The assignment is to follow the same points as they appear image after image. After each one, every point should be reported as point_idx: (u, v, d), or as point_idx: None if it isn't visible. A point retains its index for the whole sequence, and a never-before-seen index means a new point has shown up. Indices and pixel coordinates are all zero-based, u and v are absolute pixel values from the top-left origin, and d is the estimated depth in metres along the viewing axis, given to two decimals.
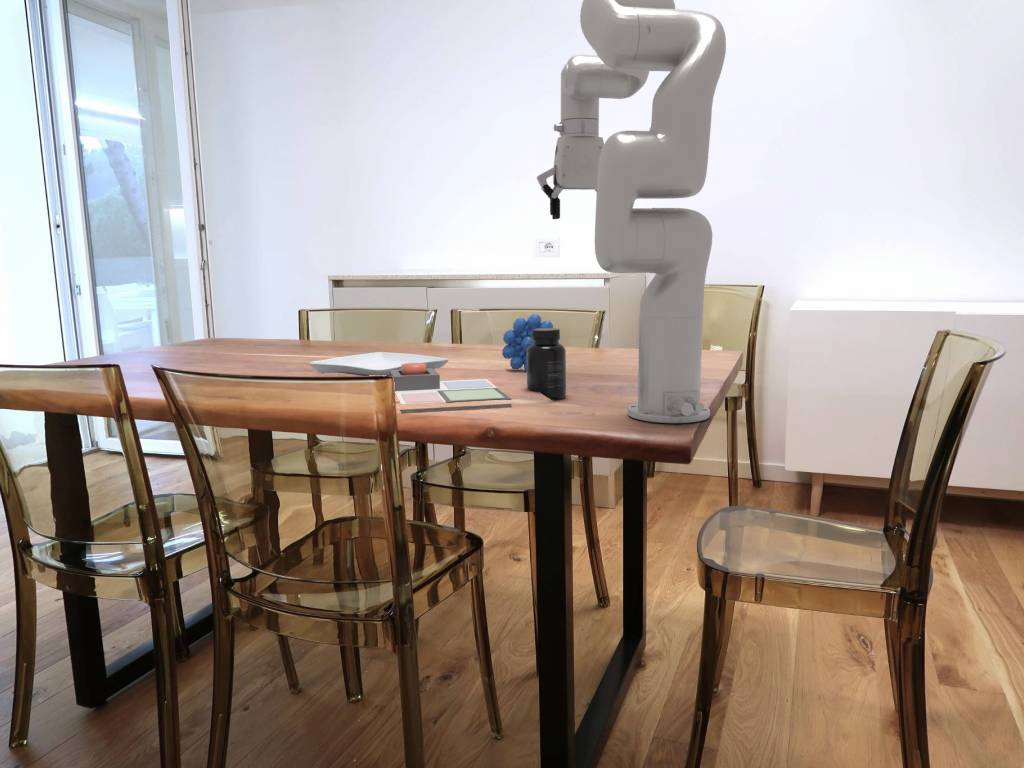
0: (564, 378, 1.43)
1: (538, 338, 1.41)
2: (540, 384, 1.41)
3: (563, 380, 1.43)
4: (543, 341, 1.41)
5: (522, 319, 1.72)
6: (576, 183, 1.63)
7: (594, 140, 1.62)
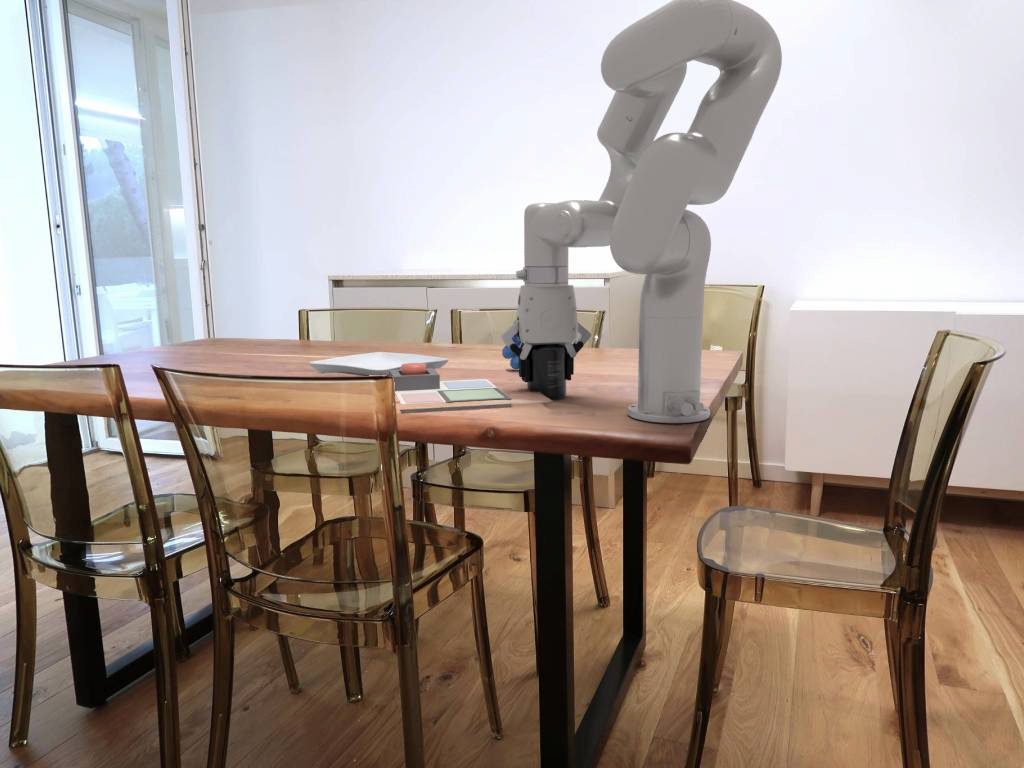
0: (564, 378, 1.43)
1: None
2: (540, 384, 1.41)
3: (563, 380, 1.43)
4: None
5: None
6: (541, 340, 1.40)
7: (563, 290, 1.40)
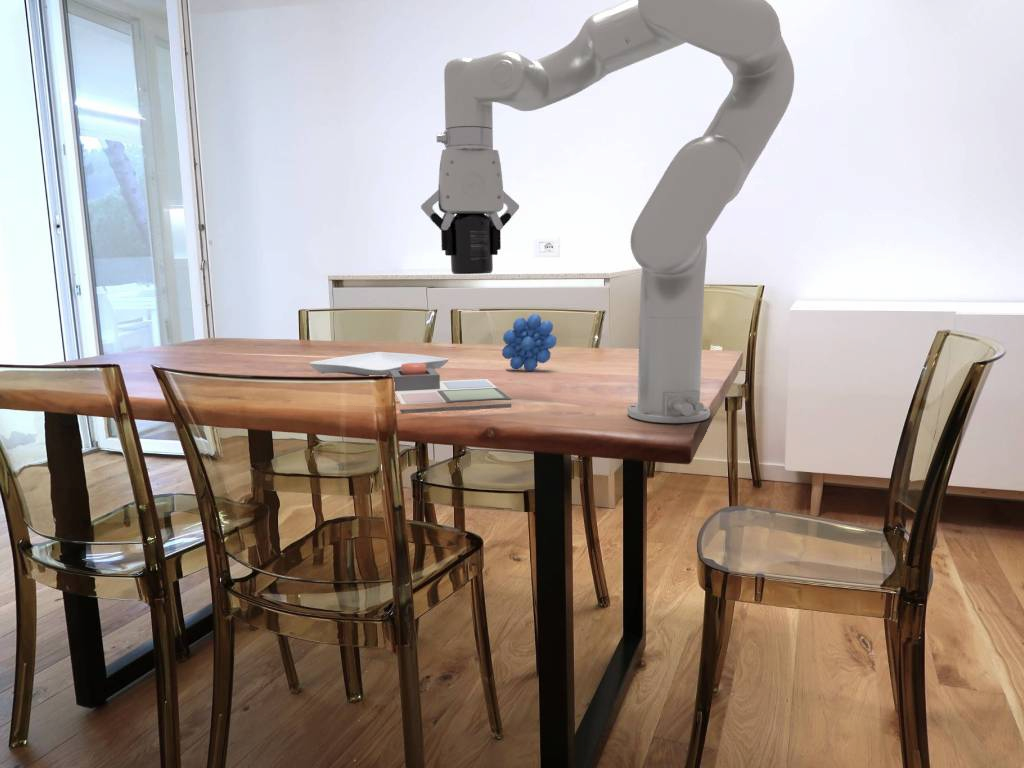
0: (489, 251, 1.34)
1: None
2: (463, 256, 1.32)
3: (488, 253, 1.33)
4: None
5: (522, 319, 1.72)
6: (464, 207, 1.31)
7: (486, 154, 1.30)
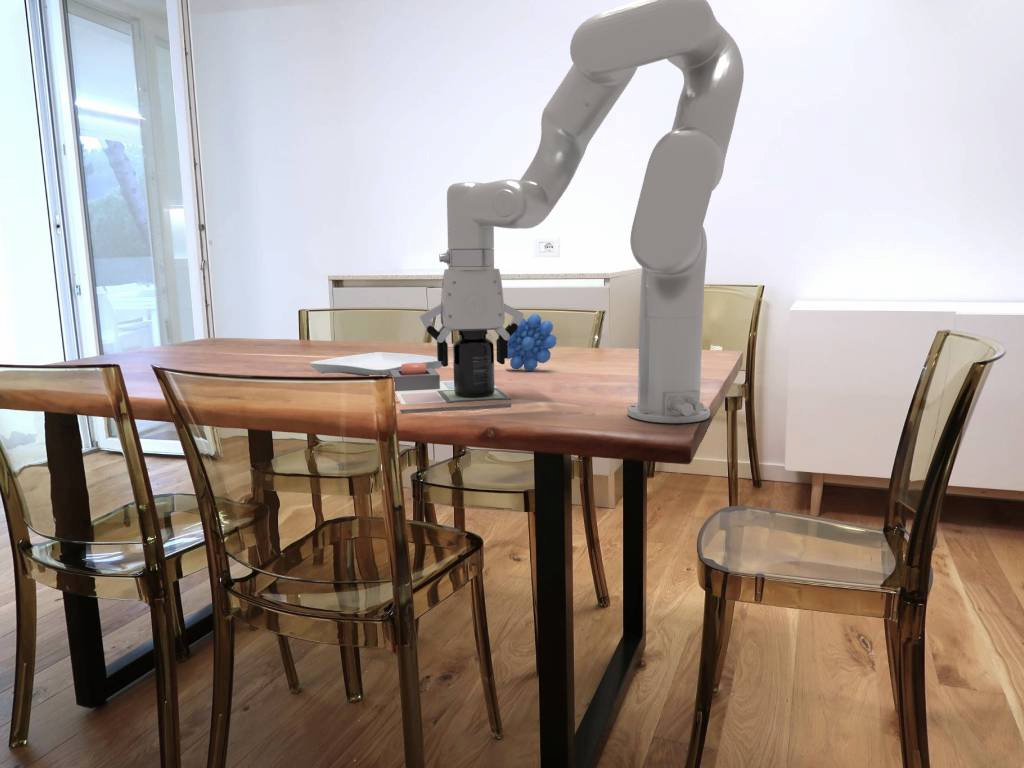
0: (491, 374, 1.37)
1: (463, 333, 1.35)
2: (466, 380, 1.36)
3: (490, 376, 1.37)
4: (468, 335, 1.35)
5: (522, 319, 1.72)
6: (465, 326, 1.34)
7: (487, 273, 1.34)
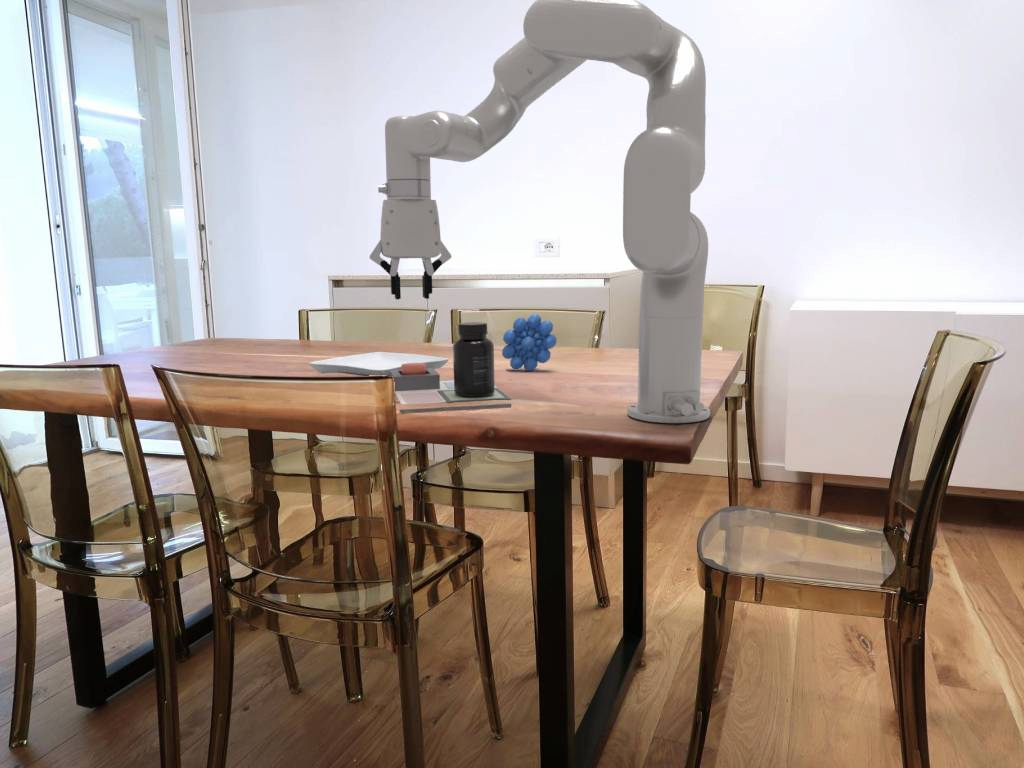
0: (491, 374, 1.37)
1: (464, 333, 1.35)
2: (465, 380, 1.36)
3: (490, 376, 1.37)
4: (469, 335, 1.35)
5: (522, 319, 1.72)
6: (403, 253, 1.41)
7: (423, 203, 1.41)
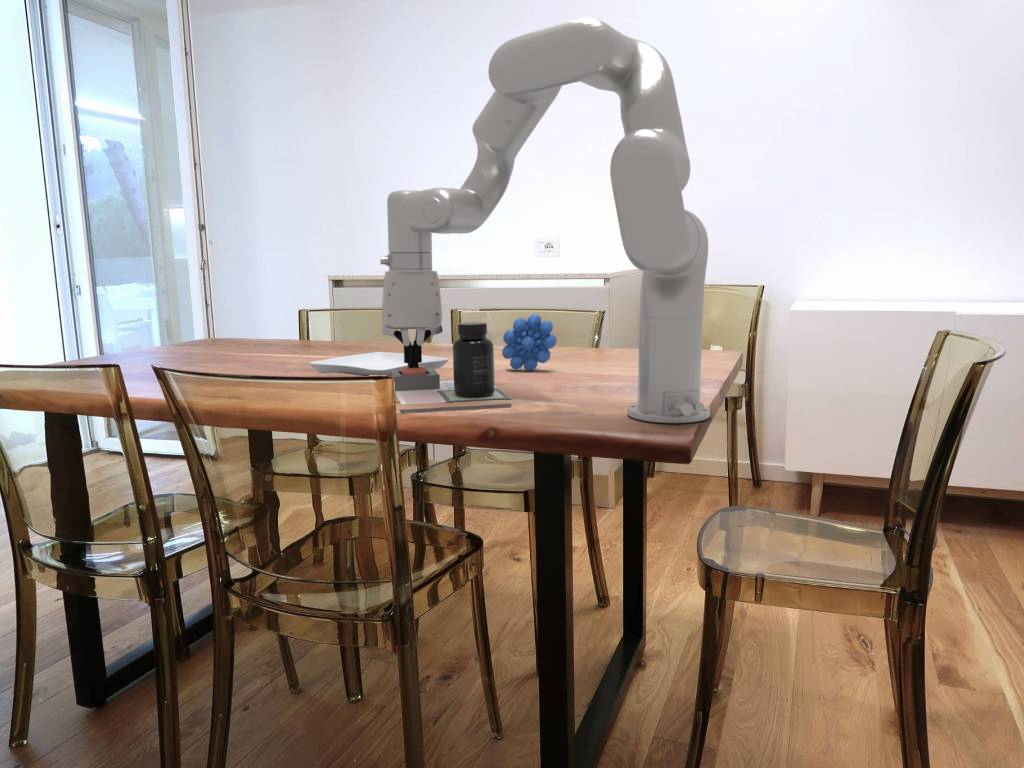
0: (491, 374, 1.37)
1: (463, 333, 1.35)
2: (465, 380, 1.36)
3: (490, 376, 1.37)
4: (468, 335, 1.35)
5: (522, 319, 1.72)
6: (404, 324, 1.43)
7: (425, 275, 1.43)
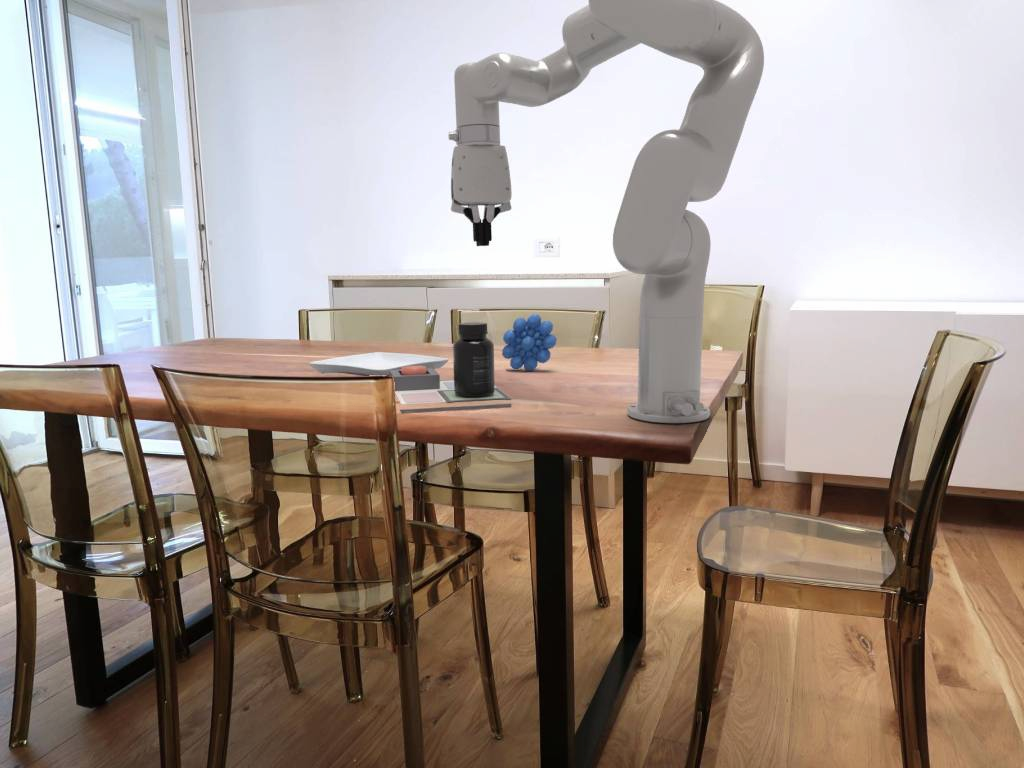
0: (491, 374, 1.37)
1: (464, 333, 1.35)
2: (465, 380, 1.36)
3: (490, 376, 1.37)
4: (469, 335, 1.35)
5: (522, 319, 1.72)
6: (475, 199, 1.43)
7: (494, 149, 1.43)
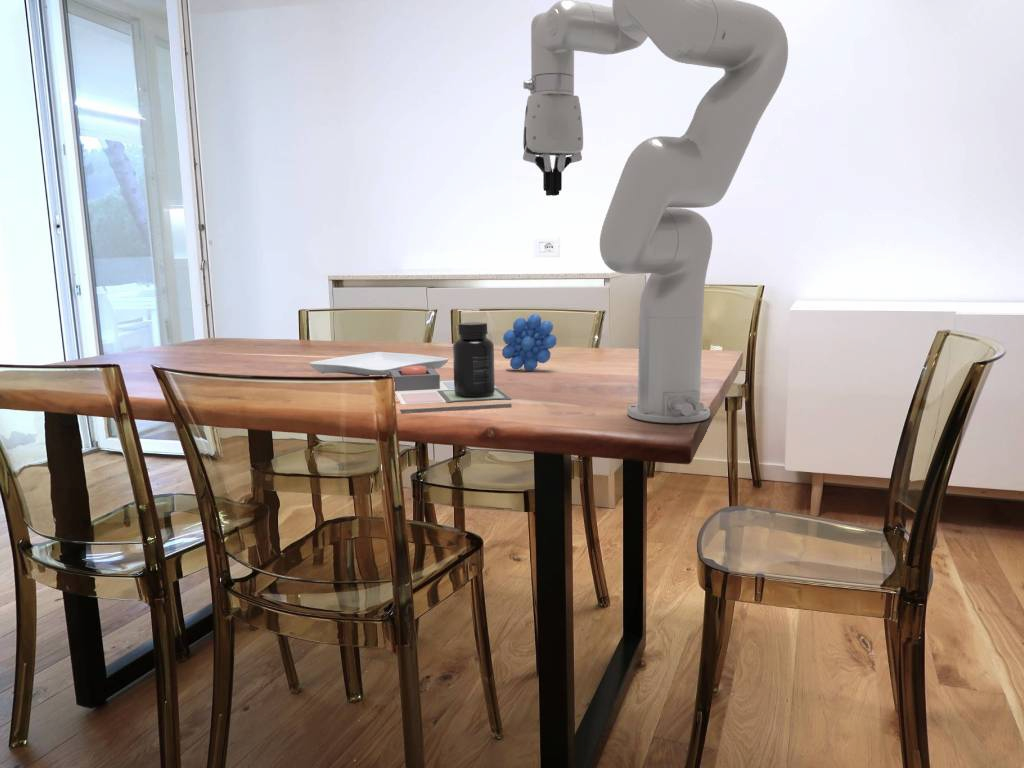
0: (491, 374, 1.37)
1: (464, 332, 1.35)
2: (465, 380, 1.36)
3: (490, 376, 1.37)
4: (468, 335, 1.35)
5: (522, 319, 1.72)
6: (548, 147, 1.45)
7: (568, 99, 1.45)
